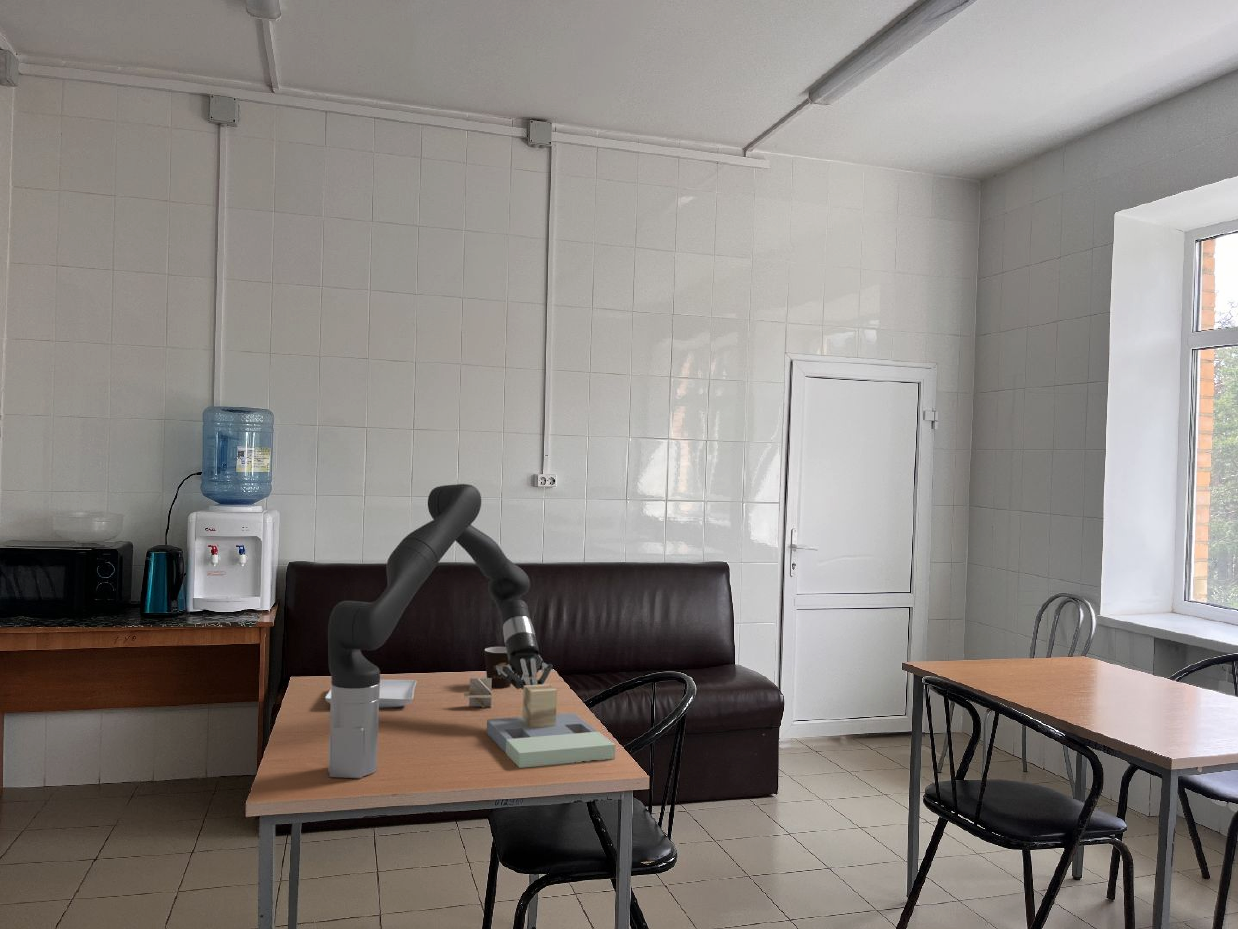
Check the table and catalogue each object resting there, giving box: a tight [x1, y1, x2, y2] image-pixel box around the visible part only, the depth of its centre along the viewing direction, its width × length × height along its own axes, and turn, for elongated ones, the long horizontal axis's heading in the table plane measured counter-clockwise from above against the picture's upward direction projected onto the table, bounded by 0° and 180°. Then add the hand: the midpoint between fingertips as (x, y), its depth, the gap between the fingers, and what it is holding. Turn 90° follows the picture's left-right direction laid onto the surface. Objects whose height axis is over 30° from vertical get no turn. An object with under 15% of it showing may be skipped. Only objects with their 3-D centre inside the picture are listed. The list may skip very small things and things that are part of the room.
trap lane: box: [486, 712, 616, 769], centre depth 203 cm, size 26×21×3 cm
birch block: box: [522, 683, 558, 728], centre depth 209 cm, size 6×6×8 cm
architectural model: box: [463, 677, 493, 709], centre depth 232 cm, size 3×7×7 cm, turn 96°
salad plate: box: [324, 679, 418, 709], centre depth 237 cm, size 21×21×3 cm
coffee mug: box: [484, 646, 513, 690], centre depth 256 cm, size 12×9×10 cm
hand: (533, 702), depth 213 cm, fingers closed
